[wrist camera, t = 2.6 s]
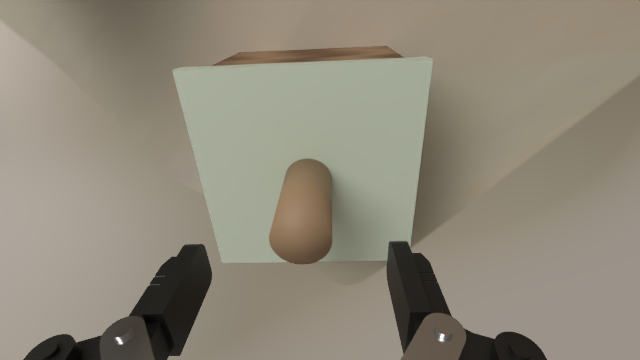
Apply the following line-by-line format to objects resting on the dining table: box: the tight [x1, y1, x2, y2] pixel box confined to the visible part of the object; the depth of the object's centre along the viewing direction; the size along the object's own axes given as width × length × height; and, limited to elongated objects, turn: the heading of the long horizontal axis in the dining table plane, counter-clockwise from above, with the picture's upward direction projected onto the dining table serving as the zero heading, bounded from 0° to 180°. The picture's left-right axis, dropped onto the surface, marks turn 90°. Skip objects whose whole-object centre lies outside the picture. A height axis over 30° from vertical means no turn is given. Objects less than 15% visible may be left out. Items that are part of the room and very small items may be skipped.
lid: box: [172, 57, 433, 264], centre depth 18 cm, size 14×14×7 cm
